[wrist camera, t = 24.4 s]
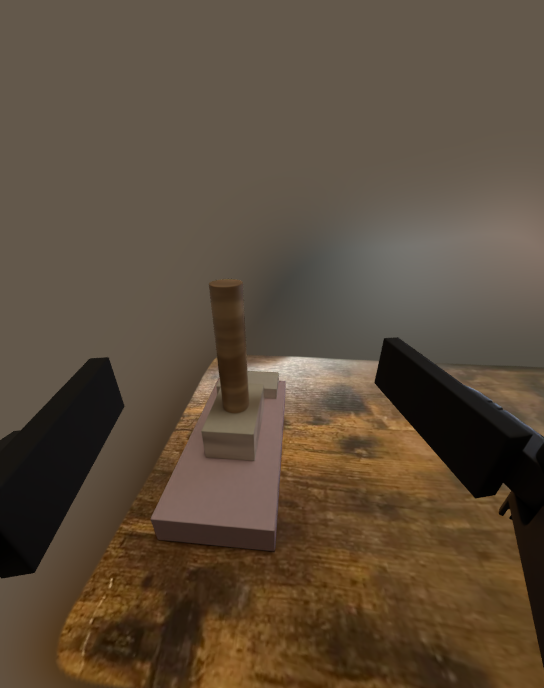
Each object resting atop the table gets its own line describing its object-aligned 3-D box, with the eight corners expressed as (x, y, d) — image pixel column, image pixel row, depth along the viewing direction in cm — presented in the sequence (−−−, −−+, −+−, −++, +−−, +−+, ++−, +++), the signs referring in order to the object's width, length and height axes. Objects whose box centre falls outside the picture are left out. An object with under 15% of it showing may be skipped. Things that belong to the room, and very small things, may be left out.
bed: (274, 551, 21) (274, 518, 19) (157, 540, 22) (145, 506, 20) (285, 397, 39) (285, 371, 37) (220, 394, 40) (217, 368, 38)
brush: (255, 461, 25) (246, 296, 18) (205, 457, 26) (177, 295, 18) (264, 407, 32) (261, 273, 25) (225, 405, 33) (211, 272, 25)
